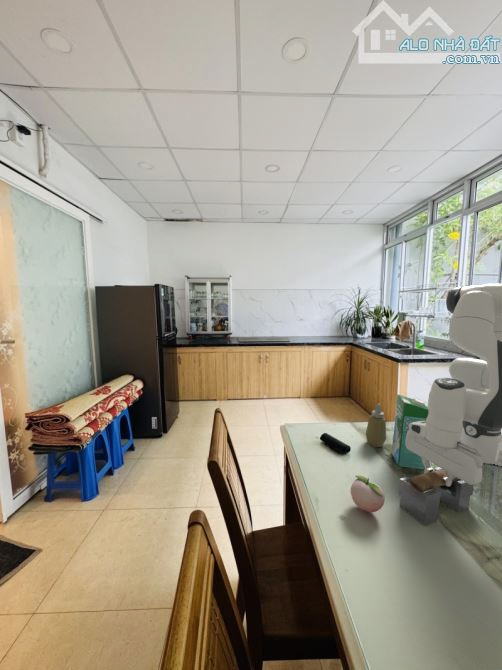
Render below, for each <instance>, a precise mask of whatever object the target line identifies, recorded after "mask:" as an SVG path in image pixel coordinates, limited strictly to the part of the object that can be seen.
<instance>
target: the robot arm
mask: <svg viewBox="0 0 502 670" xmlns="http://www.w3.org/2000/svg"><path fill="white" fill-rule="evenodd" d="M445 305H446V310H447V311H448V312H449V313H451V314H452V316H451V319H450V322H449V329H448V331H449V332H448V336H449V339H450V341H451V342H452V343H453V344H454V346H455V347H458V348H459V349H460V350H463V351H464V352H467V353H469V354H471V355H473V356H476V357H477V358H474V357H456V358H455V359H453V360H452V361H451V363H450V365H449V366H448V373H449V376H450V377H440V378H435V379H434V380H433V382H432V384H431V387H430V391H429V394H428V401H427V407H428V417H427V419H426V421H417V422H412V423H409V429H410V430H408V432H407V435H406V440H405V445H406V448H407V449H408V450H410V451H412V452H413V453H415V454H417V455H419V456H420V457H422V462H423V465H424V467H425V470H423V471H424V472H423V473H424V474H425V473H428V472H432V471H434V468H433V467H432V466H431V464H433V465H435V466H437V467H440V468H442V469H443V470H445V471H447V472H448V473H447V475H448V476H449V477H445V478H443V481H442V483H443V484H445V485H446V486H451V483H452V480H453V479H454V478H456V477H457V478H459V479H461V480H463V481H464V482H466V483H468V484H470V485H474V486H475V485H478V484H480V483H481V482H482V481H483V465H484V464H488V465H493V464H495V466H497V465H498V466H497V467H501V466H502V283H485V284H477V285H467V286H464V285H463V286H457V287H453V288H452V289H451V290H449V291H448V293H447V296H446V299H445Z"/></svg>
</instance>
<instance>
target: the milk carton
mask: <svg viewBox="0 0 502 670" xmlns="http://www.w3.org/2000/svg"><path fill="white" fill-rule="evenodd" d="M396 395H397V396H396V406H395V414H394V425H393V434H392V435H393V436H392V445H391V454H392V455H391V456H393V459H394V461H395V463H396V464H397V466H398V467H404V468H409V469H410V468H411V469H418V470H423V471H424V470H425V467H424V465H423V462H422V457H420V456H419V455H417V454H415V453H413V452H412V451H410V450H408V449H407V448H406V445H405V440H406V435H407V432H408V430H410V429H409V423H412V422H417V421H426V419H427V417H428V405H425V404H426V402H425V401H423V400H422V399H418V398H410V397H408V396H404V395H401V394H396Z"/></svg>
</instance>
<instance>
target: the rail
mask: <svg viewBox="0 0 502 670" xmlns="http://www.w3.org/2000/svg"><path fill="white" fill-rule="evenodd" d="M447 473H448V472H447V471H445V470H443V469H439V470H435V471H434V470H433V471H432V472H428V473H425V472H424V473H422V474H418V475H416V476H415V477H412V478H411V480H410V483H411V484H412V485H414V486H415V487H417V488H418V489H419V490H421V491H422V492H424V493H425V492H428V491H431V490H432V489H433V488H436V487H439V486H442V485H445V484H443V483H442V481H443V478H445V477H449V476H448V475H447ZM458 480H461V479H459V478H457V477H456V478H454V479H453V480H452V482H455V481H458Z"/></svg>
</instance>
